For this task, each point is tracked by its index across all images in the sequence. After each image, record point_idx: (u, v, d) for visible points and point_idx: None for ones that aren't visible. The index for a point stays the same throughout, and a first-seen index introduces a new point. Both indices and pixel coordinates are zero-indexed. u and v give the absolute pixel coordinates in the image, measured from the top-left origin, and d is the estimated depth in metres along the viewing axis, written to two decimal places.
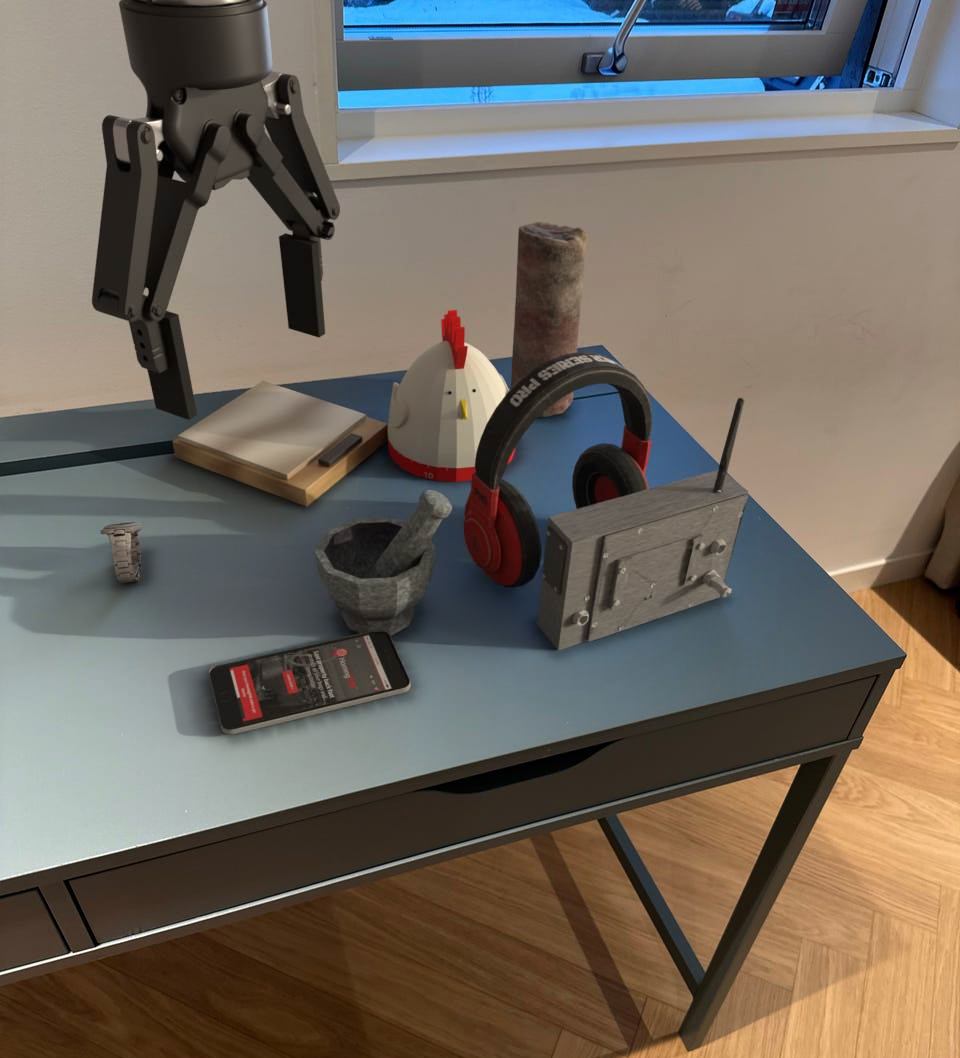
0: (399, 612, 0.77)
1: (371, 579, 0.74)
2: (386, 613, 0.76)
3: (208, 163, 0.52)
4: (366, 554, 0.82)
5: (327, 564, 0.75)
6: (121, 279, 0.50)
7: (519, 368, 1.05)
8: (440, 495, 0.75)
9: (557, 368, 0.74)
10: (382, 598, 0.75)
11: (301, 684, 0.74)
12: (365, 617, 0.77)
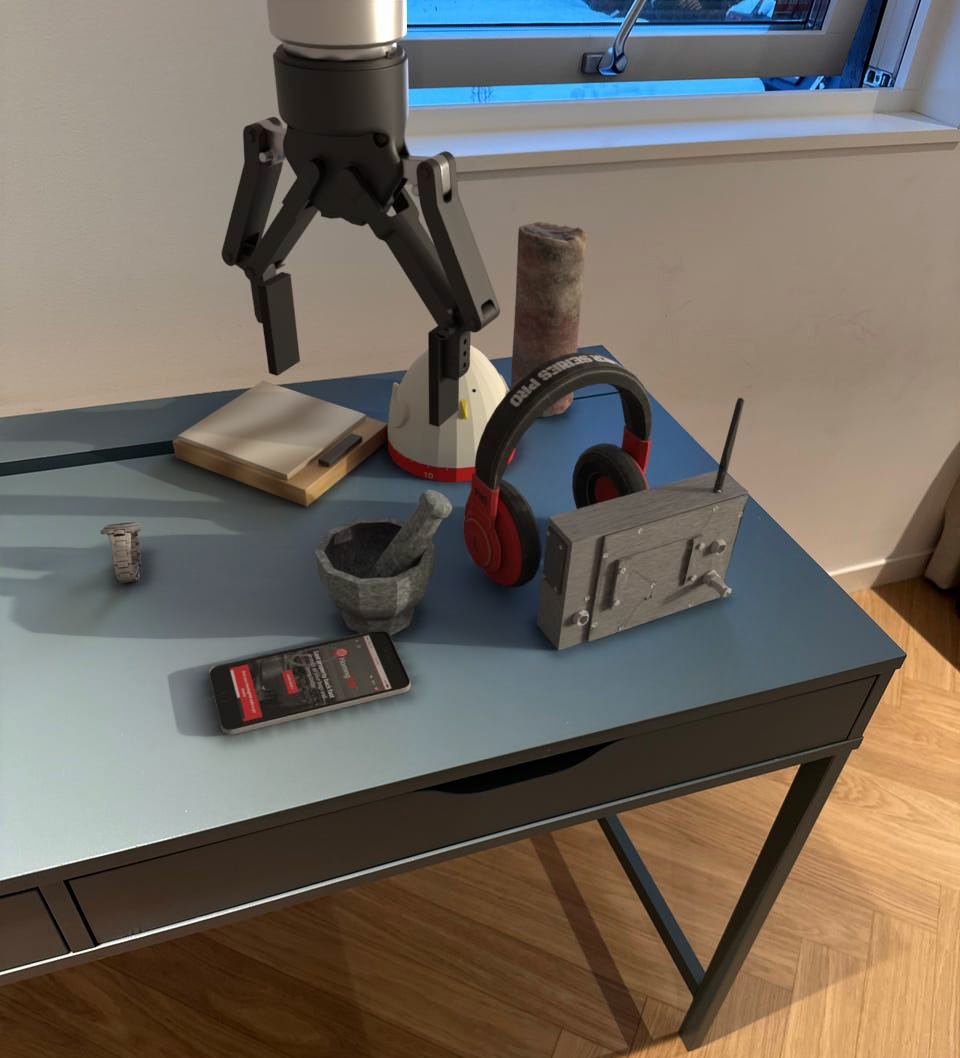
0: (399, 611, 0.77)
1: (371, 579, 0.74)
2: (386, 613, 0.76)
3: None
4: (366, 554, 0.82)
5: (327, 564, 0.75)
6: (487, 286, 0.57)
7: (519, 368, 1.05)
8: (440, 495, 0.75)
9: (557, 368, 0.74)
10: (382, 598, 0.75)
11: (301, 684, 0.74)
12: (365, 617, 0.77)
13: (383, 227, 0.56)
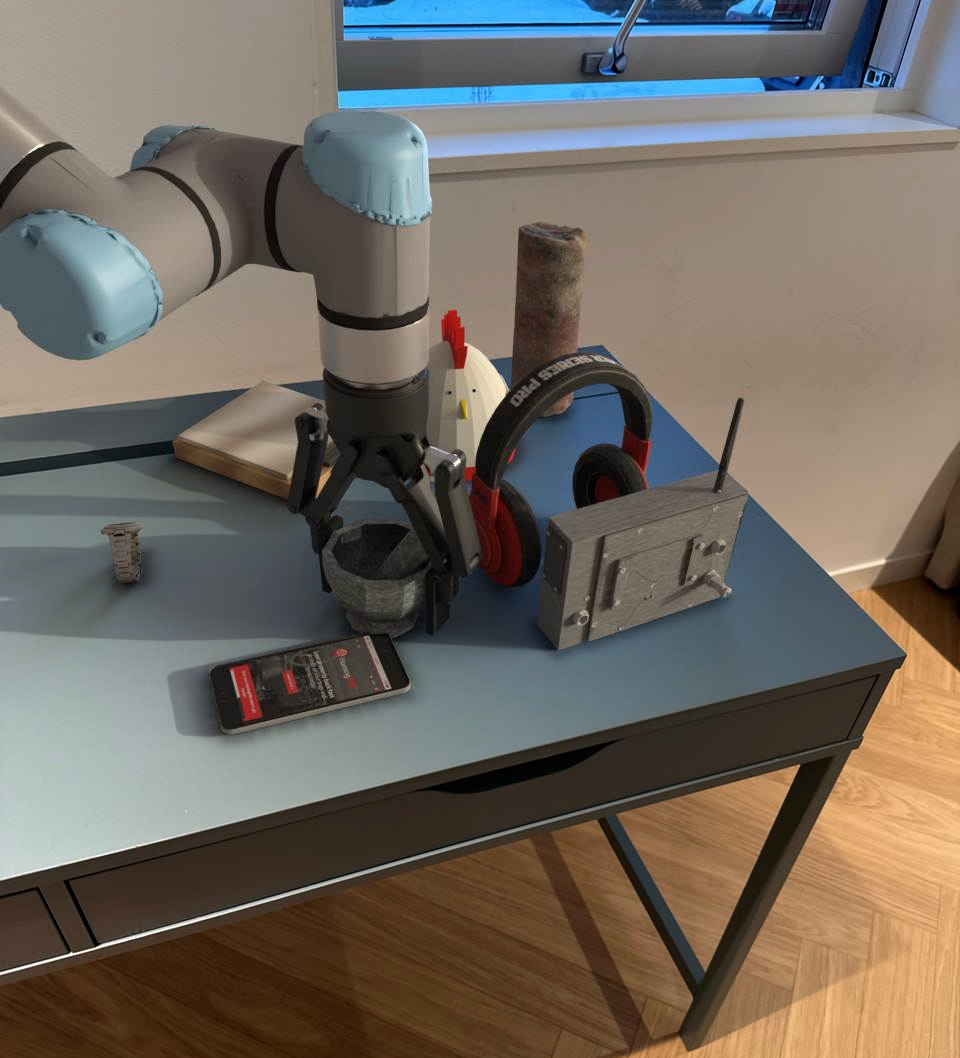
0: (405, 614, 0.77)
1: (379, 581, 0.74)
2: (391, 615, 0.76)
3: None
4: (372, 555, 0.82)
5: (334, 564, 0.75)
6: (475, 543, 0.72)
7: (519, 368, 1.05)
8: None
9: (557, 368, 0.74)
10: (389, 600, 0.75)
11: (301, 684, 0.74)
12: (370, 618, 0.77)
13: (403, 498, 0.70)
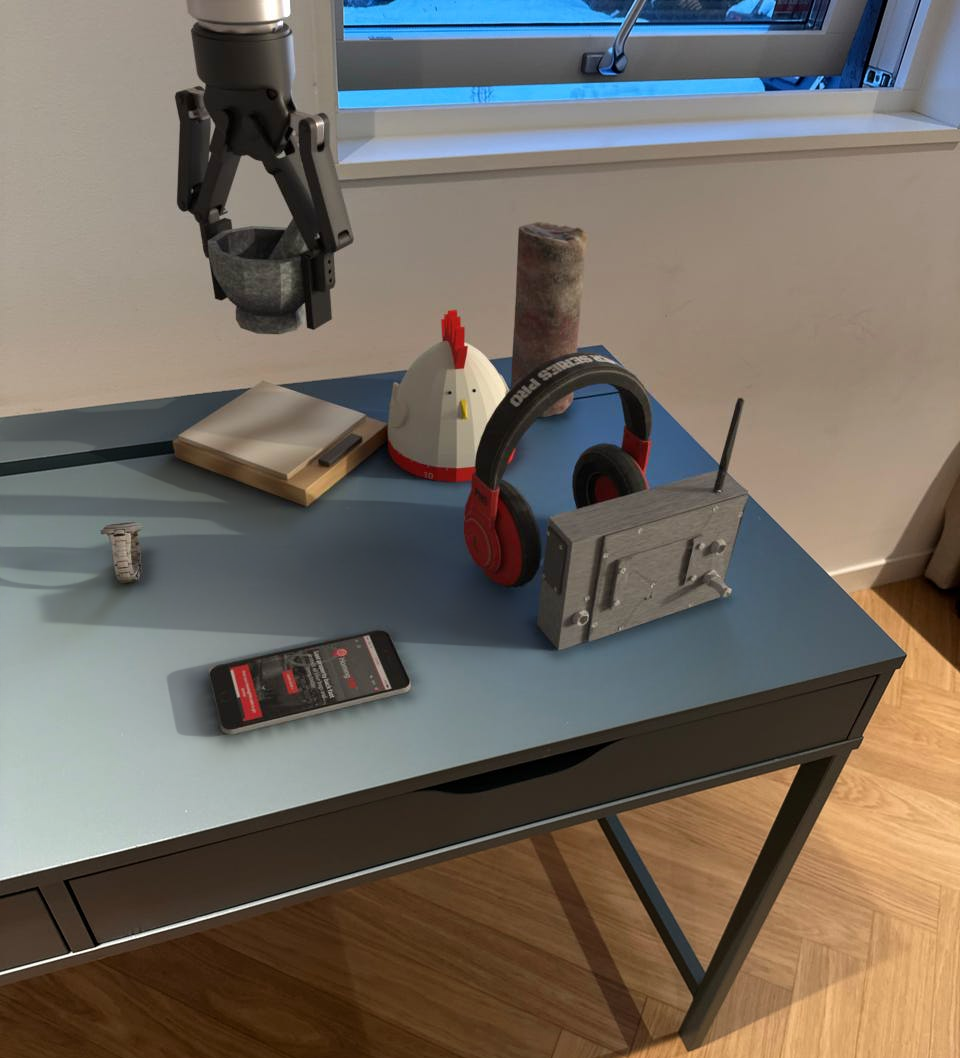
0: (285, 303, 0.81)
1: (256, 259, 0.78)
2: (271, 302, 0.81)
3: None
4: None
5: (217, 248, 0.80)
6: (345, 219, 0.77)
7: (519, 368, 1.05)
8: None
9: (557, 368, 0.74)
10: (266, 281, 0.79)
11: (301, 684, 0.74)
12: (252, 306, 0.81)
13: (272, 165, 0.75)
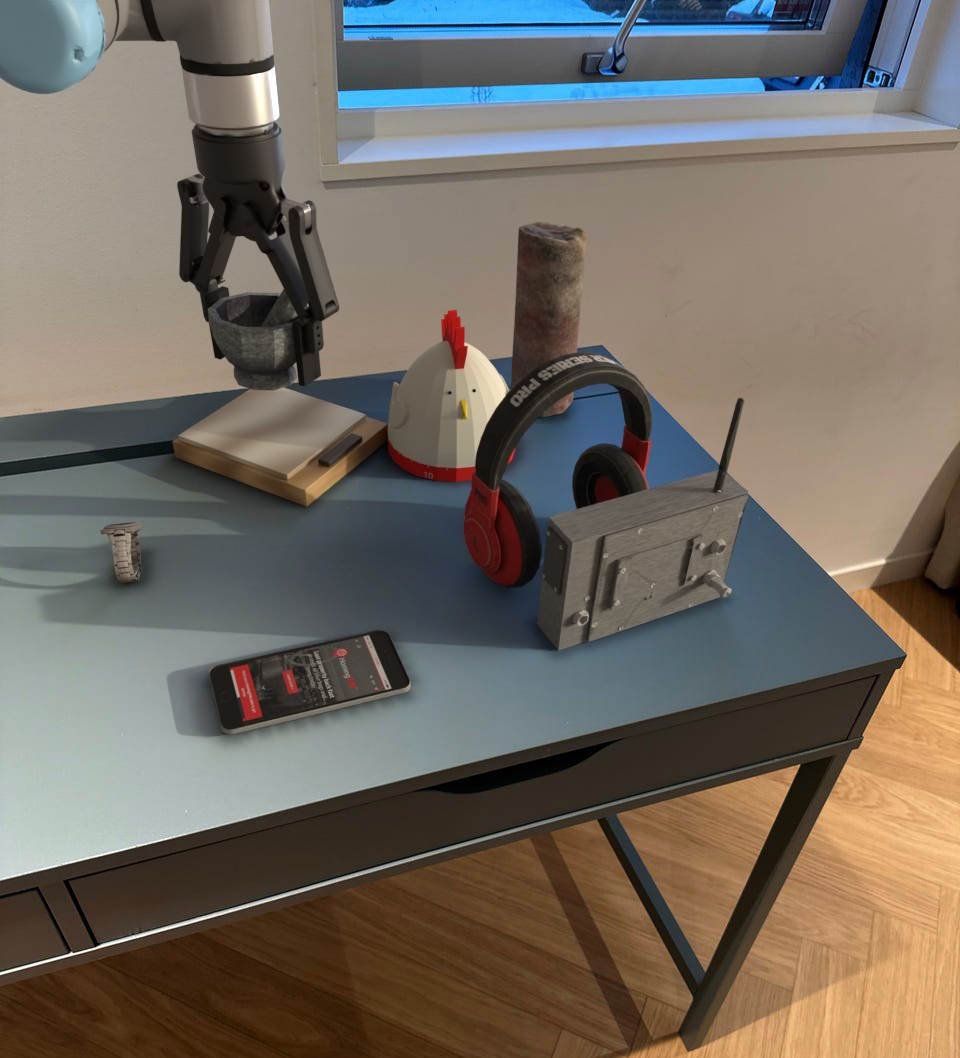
0: (278, 364, 0.91)
1: (252, 327, 0.87)
2: (266, 363, 0.90)
3: None
4: (257, 326, 0.95)
5: (216, 317, 0.89)
6: (331, 291, 0.86)
7: (519, 368, 1.05)
8: None
9: (557, 368, 0.74)
10: (262, 346, 0.88)
11: (301, 684, 0.74)
12: (249, 367, 0.90)
13: (265, 246, 0.84)
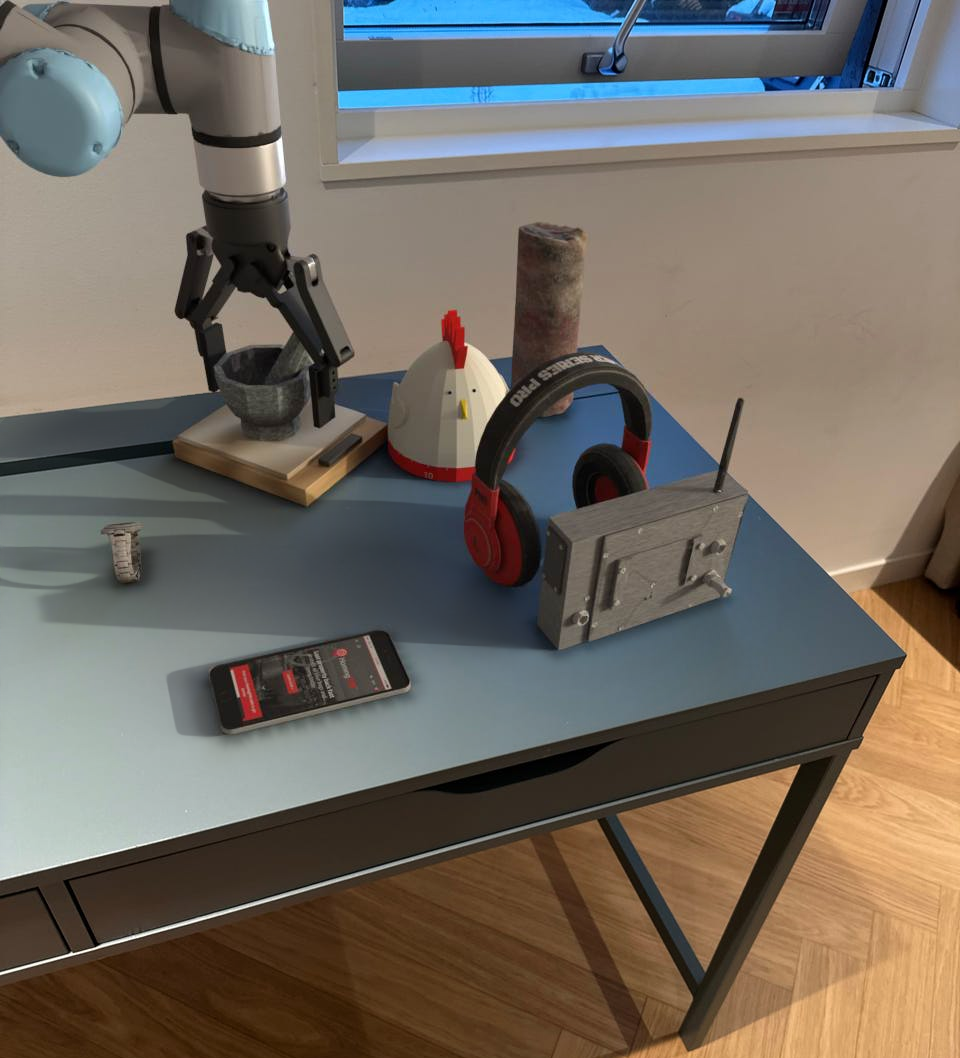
0: (283, 417, 0.94)
1: (256, 386, 0.91)
2: (271, 417, 0.94)
3: None
4: (261, 376, 0.99)
5: (222, 375, 0.93)
6: (344, 338, 0.89)
7: (519, 368, 1.05)
8: None
9: (557, 368, 0.74)
10: (266, 402, 0.92)
11: (301, 684, 0.74)
12: (255, 421, 0.94)
13: (275, 300, 0.87)
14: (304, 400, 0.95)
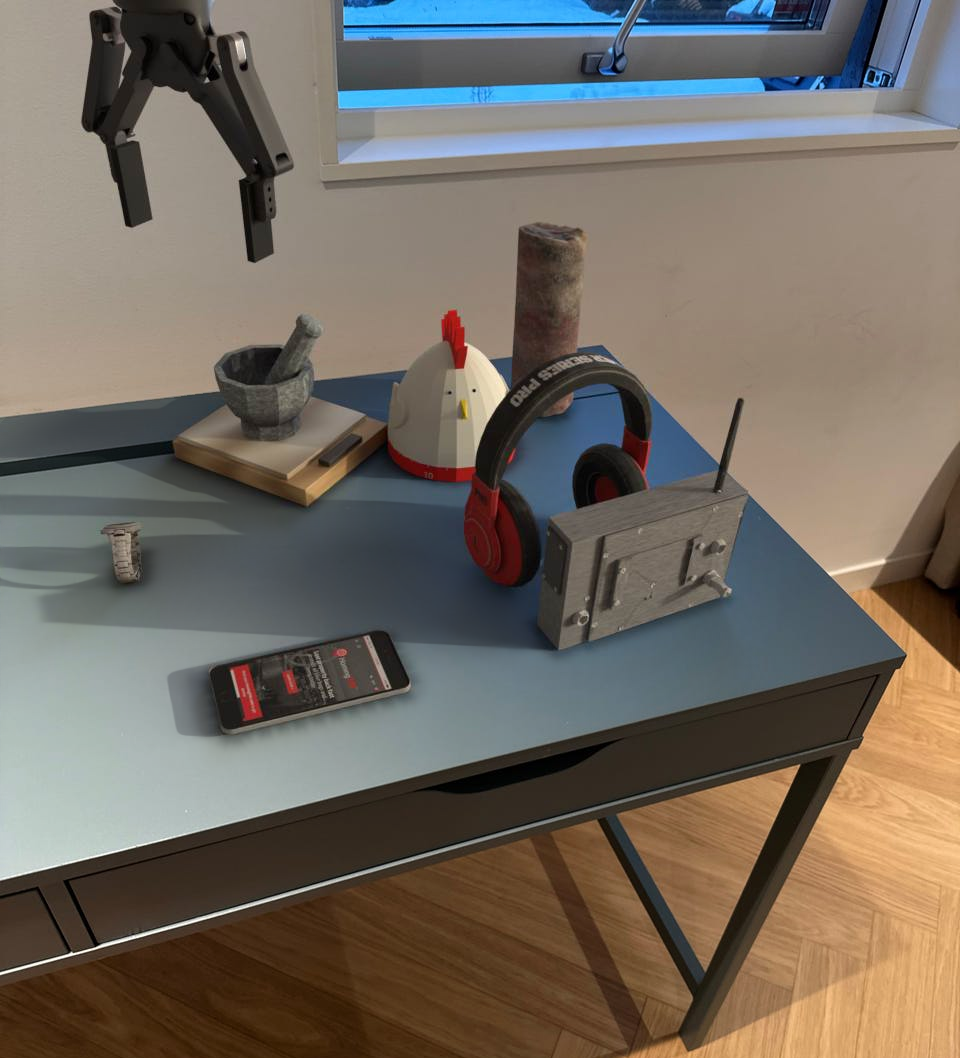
0: (283, 417, 0.94)
1: (256, 385, 0.91)
2: (271, 417, 0.94)
3: None
4: (261, 376, 0.99)
5: (222, 375, 0.93)
6: (281, 142, 0.74)
7: (519, 368, 1.05)
8: (313, 318, 0.92)
9: (557, 368, 0.74)
10: (266, 402, 0.92)
11: (301, 684, 0.74)
12: (255, 421, 0.94)
13: (197, 91, 0.72)
14: (304, 400, 0.95)
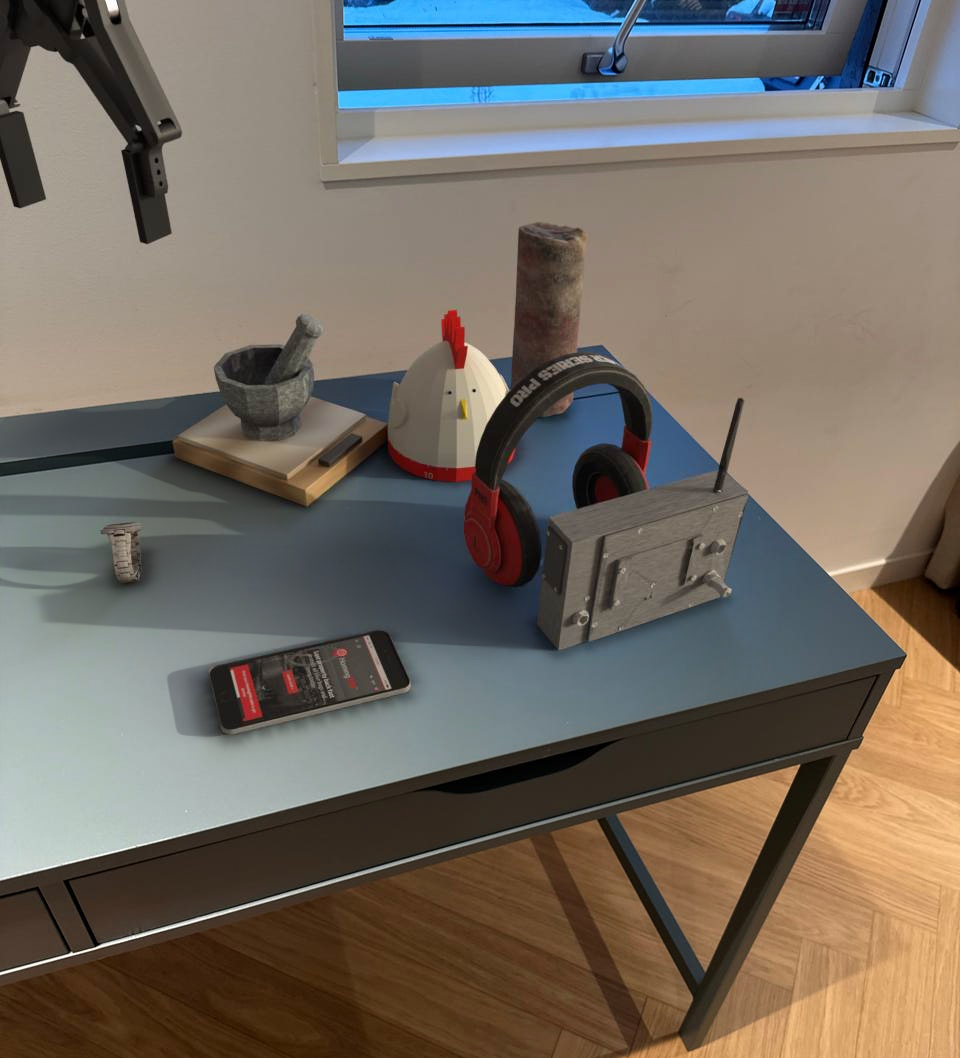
0: (283, 417, 0.94)
1: (256, 385, 0.91)
2: (271, 417, 0.94)
3: None
4: (261, 376, 0.99)
5: (222, 375, 0.93)
6: (165, 106, 0.66)
7: (519, 368, 1.05)
8: (313, 318, 0.92)
9: (557, 368, 0.74)
10: (266, 402, 0.92)
11: (301, 684, 0.74)
12: (255, 421, 0.94)
13: (67, 49, 0.64)
14: (304, 400, 0.95)
